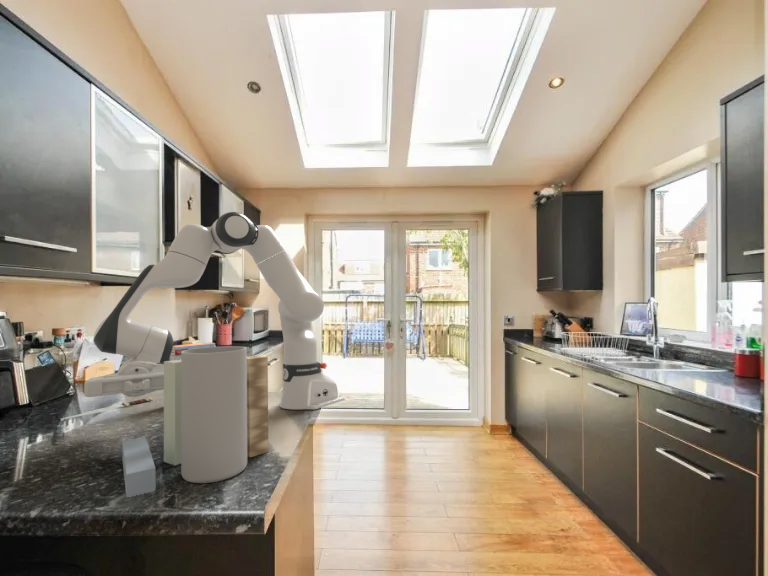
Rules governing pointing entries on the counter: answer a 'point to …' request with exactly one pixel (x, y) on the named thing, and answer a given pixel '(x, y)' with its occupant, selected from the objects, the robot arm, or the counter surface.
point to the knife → (114, 407)
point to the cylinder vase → (213, 413)
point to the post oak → (257, 405)
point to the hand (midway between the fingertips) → (137, 387)
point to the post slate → (138, 467)
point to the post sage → (172, 412)
